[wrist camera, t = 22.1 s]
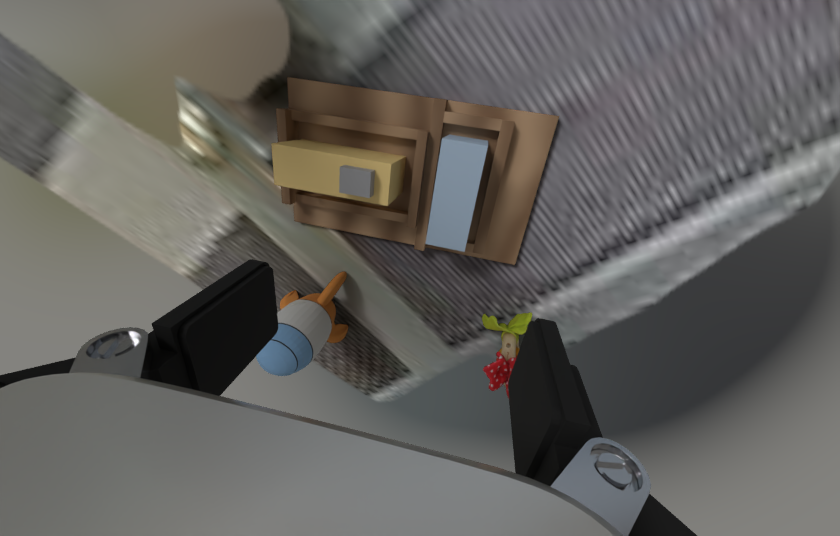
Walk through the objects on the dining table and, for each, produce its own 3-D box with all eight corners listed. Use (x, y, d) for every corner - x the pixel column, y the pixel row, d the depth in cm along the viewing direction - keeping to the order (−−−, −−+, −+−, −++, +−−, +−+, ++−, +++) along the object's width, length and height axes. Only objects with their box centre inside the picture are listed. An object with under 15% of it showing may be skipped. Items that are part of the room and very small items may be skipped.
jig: (297, 219, 42) (283, 227, 39) (291, 77, 34) (273, 74, 32) (514, 262, 38) (516, 273, 36) (557, 116, 31) (564, 116, 28)
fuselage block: (304, 174, 38) (267, 187, 32) (303, 138, 36) (263, 144, 30) (402, 192, 37) (384, 209, 30) (406, 156, 35) (387, 165, 28)
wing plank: (434, 225, 38) (425, 243, 32) (449, 134, 33) (442, 138, 28) (468, 232, 37) (464, 251, 32) (488, 140, 33) (487, 146, 27)
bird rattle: (535, 333, 45) (528, 295, 38) (551, 417, 37) (546, 387, 31) (490, 337, 46) (477, 302, 40) (497, 418, 39) (482, 391, 33)
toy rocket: (364, 327, 49) (298, 412, 37) (305, 306, 51) (227, 379, 40) (362, 273, 43) (283, 354, 31) (296, 252, 45) (201, 319, 34)
